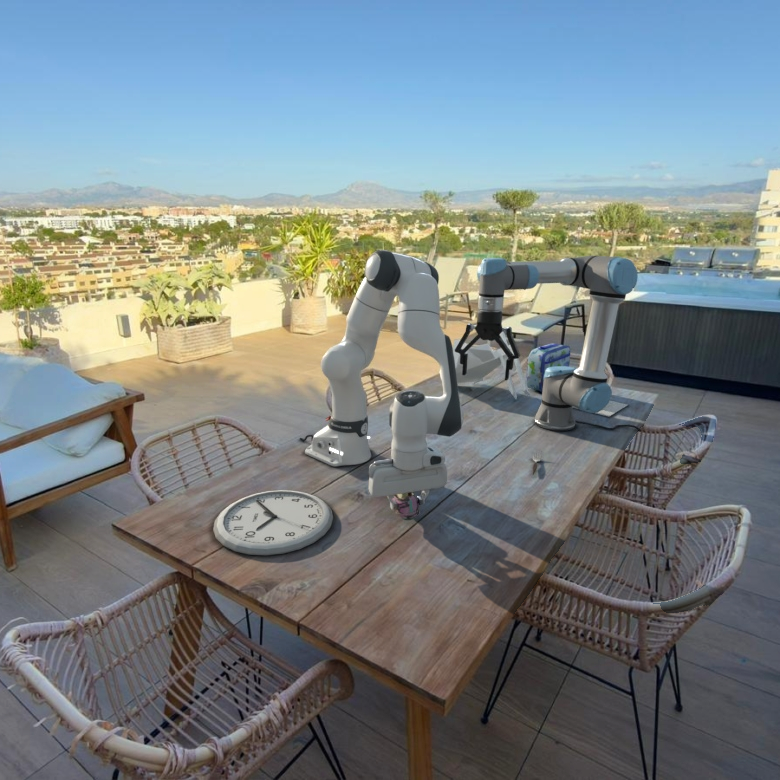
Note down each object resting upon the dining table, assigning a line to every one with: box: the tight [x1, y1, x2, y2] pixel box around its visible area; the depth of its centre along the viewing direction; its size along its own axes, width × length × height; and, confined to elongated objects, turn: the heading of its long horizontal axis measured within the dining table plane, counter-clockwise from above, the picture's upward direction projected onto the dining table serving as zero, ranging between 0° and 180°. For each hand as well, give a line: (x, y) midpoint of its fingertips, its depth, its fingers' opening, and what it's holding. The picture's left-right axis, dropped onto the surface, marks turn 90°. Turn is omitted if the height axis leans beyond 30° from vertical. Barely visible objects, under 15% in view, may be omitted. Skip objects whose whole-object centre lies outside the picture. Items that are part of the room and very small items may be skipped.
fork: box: [532, 451, 543, 475], centre depth 168 cm, size 3×16×2 cm, turn 160°
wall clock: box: [212, 489, 334, 556], centre depth 134 cm, size 30×2×30 cm
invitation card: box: [573, 400, 629, 418], centre depth 226 cm, size 21×1×15 cm
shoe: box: [392, 492, 421, 522], centre depth 141 cm, size 8×24×9 cm, turn 18°
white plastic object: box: [438, 326, 531, 400], centre depth 245 cm, size 37×45×31 cm
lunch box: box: [525, 343, 571, 393], centre depth 249 cm, size 26×11×21 cm, turn 134°
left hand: (407, 506), depth 134 cm, fingers closed on shoe, 6 cm apart
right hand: (485, 376), depth 167 cm, fingers open, 13 cm apart
